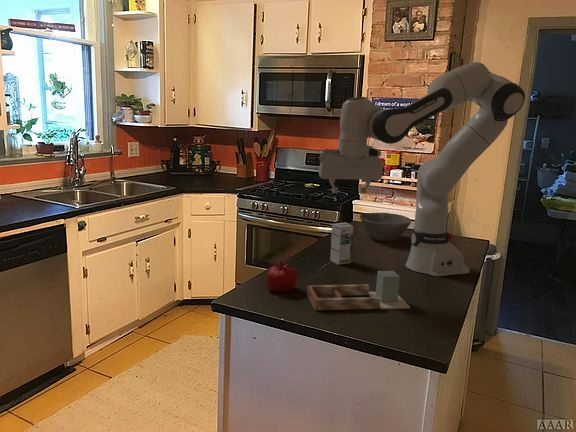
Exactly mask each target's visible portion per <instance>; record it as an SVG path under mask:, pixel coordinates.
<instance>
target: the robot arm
mask: <svg viewBox="0 0 576 432" xmlns="http://www.w3.org/2000/svg"><path fill="white" fill-rule="evenodd" d="M426 92H427V94H426V95H424V96H423V97H421V98H419V99H417V100H416V101H414V102H412V103H410V104H408V105H406V106H405V107H404V106H403V107H401V108H386V109H385V108H384V107H381V106H379V105H377V104H376V103H374V102H372V101H371V100H369V98H368V97H366V96H359V97H351V98H348V99H346V100H345V101H344V102H343V103H342V106H341V109H340V110H341V111H340V117H339V129H340V132H339V133H340V134H339V137H338V147H337V148H336V149H335V148H331V149H329V148H325V149H323V150H321V152H320V153H319V158H318V159H319V162H320V164H319V168H318V176H319V178H321V179H324V180H329V181H328V182H329V184H330V185H331V192H332V194H338V193H339V187H337V186H336V185H335V183H336V180H360V181H361V180H364V181H363V182H364V185H363V187H362V186H361V187H360V192H359V193H360V194H364V195H365V194H367V191H368V190H367V189H368V187H369V186H370V185H371V182H372V181H380V180H381V178H383V161H382V159H381V158H380V157H381V156H382V151H381V150H380V149H378V148H375V147H373V146H371V145H368V139H369V138H371V139H374V140H376V141H380V142H382V143H384V144H388V145H389V144H390V145H393V144H397V143H399V142H400V141H401V140H403V139H404V138H405V137H406V136H407V135H408V134H409V133H410V131H411V130H412V129H413V128H415V127H416V126H417V125H420V124H421V123H423V122H425V121H427V120H428V119H430V118H432V117H434V116H435V115H438V114H441V113H443V112H446V111H449V110H452V109H455V108H457V107H459V106H461V105H463V104H466V103H467V102H469V101H471V102H474V103H475V104H476V105H477V106H478V110H477V112H476V113H475V114H474V115H473V117H471V118H470V119H469V120H468V121H467V122H466V123H465V124H464V125H463V126H462V127H461V128H460V129H459V130H458V131H457V132H456V133H455V134H454V135H453V136H452V137H451V138H450V139H449V140H448V141H447V143H446V144H445V146H444V147H443V148H442V149H441V151H440V152H439V153H438V154H437V156H435V158H434V159H429V160H426V161H425V162H423V163H422V164H421V165H420V166H419V168H418V170H417V178H416V193H415V194H416V196H415V199H416V201H415V205H416V206H415V215H414V216H415V217H414V224H413V225H414V227H413V228H412V232H411V241H410V243H411V246H410V250H409V255H408V258H407V260H406V263H405V267H406V268H407V269H409V270H412V271H413V272H418V273H421V274H427V275H430V276H434V277H445V276H453V275H464V274H470V273H471V270H470V268H469V267H468V266H467V265H466V264H465V261H464V254H463V253H462V252H461V251H460V250H459V249H458V248H457V247H455V246H454V244H452V242H450V240H451V241H454V240H455V239H456V238H457V237H456V235H455V234H453V233H449V232H448V231H447V226H448V224H447V223H448V217H449V216H448V215H449V205H448V204H449V193H450V192H452V190H453V188H454V187H455V185H456V184H458V182H459V181H460V179H461V178H462V177H463V176H464V174H465V173H466V172H467V171H468V170H469V168H470V167H471V165H472V164H474V162H475V161H476V160H477V159H478V158H479V157H480V156H481V155H482V154H483V153H484V152H485V151H486V150H487V149H488V148H489V147H490V146H491V145H492V144H493V143H494V142H495V141H496V140H497V139H498V138H499V136H500V135H501V134H502V133H503V131H504V130H505V129H506V127H507V126H508V123H509V119H511V118H513V117H514V116H516V114H517V113H519V111H520V110H521V109H522V107H523V105H524V104H525V100H526V94H525V90H523V88H522V87H521V86H520V85H518V83H514V82H513V81H511V80H510V79H508V78H506V77H504V76H503V75H499V74H496V73H492V72H491V71H490V70H489V68H488V67H487V65H485V64H484V63H482V62H479V61H478V62H477V61H474V62H469V63H467V64H464V65H459V66H458V67H455V68H452V69H451V70H449V71H447V72H444V73H443V74H441V75H440V76H438V77H436V78H435V79H433V81H431V82H430V83H429V85H428V87H427V91H426ZM371 180H372V181H371Z"/></svg>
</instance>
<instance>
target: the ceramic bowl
mask: <svg viewBox="0 0 576 432" xmlns="http://www.w3.org/2000/svg"><path fill="white" fill-rule="evenodd" d="M359 219H360V221H361V223H362V226H363V228H364V230H365V231H366V233H367V235H368V236H369V237H370V238H371V239H373V240H376V241H379V242H382V243H383V242H384V243H387V242H393V241H396V240H398V239H400V237H401V236H402V235H403V234H404V233H405V231H407V230H408V228H409V227H410V225H411V223H412V219H411V218H409V217H408V216H406V215H403V214H402V215H401V214H398V213H391V212H367V213H361V214H359Z"/></svg>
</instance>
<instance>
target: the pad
mask: <svg viewBox="0 0 576 432" xmlns="http://www.w3.org/2000/svg"><path fill="white" fill-rule="evenodd" d="M375 295H376V291H369V294H368V295H367V296H368V297H376V296H375ZM397 309H398V310H399V309H401V310H402V309H411V306H410V305H409V304H408V303H407V302H406V301H405V300H404V299H403V298H402V297H401V296H400V295H399V294H398V300H397V302H386V303H381V302H380V309H379V310H397Z"/></svg>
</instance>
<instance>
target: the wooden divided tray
mask: <svg viewBox="0 0 576 432" xmlns="http://www.w3.org/2000/svg"><path fill="white" fill-rule="evenodd" d="M311 287H312V289H313V290H314V292H315V294H316V295H333V290H337V291H338V292H339V294H340V295H341V297H342V298H318V299H319V310H318V311H333V310H334V311H336V310H337V311H338V310H339V311H340V310H341V311H342V310H371V309H372V310H373V309H374V310H375V309H379V310H381V309H380V301H381V298H380V297H370V296H369V295H368V294H369V292H370V285H369V284H368V283H367V284H364V283H363V284H323V285H322V284H316V285H314V284H313V285H312V284H311ZM345 296H367V297H345Z"/></svg>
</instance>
